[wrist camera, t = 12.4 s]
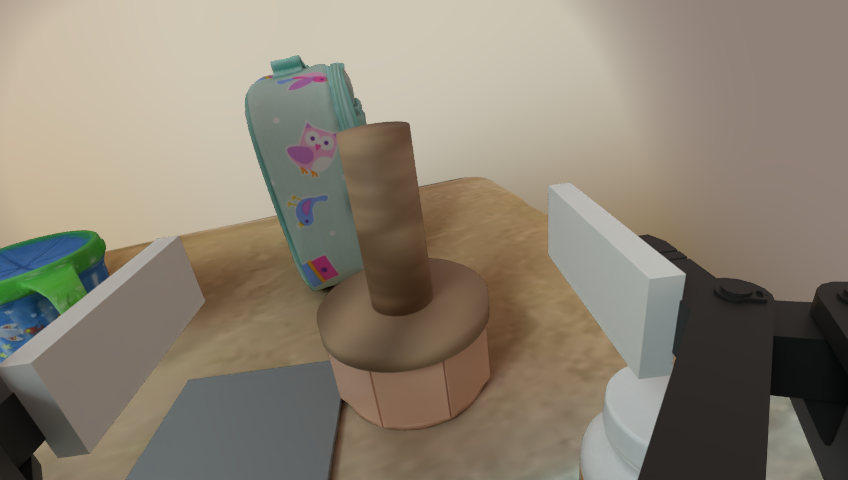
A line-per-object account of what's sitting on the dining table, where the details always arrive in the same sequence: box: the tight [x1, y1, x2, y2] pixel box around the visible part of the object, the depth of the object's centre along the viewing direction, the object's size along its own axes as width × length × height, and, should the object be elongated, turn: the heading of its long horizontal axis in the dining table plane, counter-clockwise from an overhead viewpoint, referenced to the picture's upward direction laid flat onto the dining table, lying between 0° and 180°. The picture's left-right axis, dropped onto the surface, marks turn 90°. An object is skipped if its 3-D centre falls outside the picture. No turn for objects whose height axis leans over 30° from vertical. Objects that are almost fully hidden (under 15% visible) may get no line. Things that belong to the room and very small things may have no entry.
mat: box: [125, 361, 343, 480], centre depth 26 cm, size 12×12×1 cm
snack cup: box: [0, 230, 109, 363], centre depth 34 cm, size 16×10×10 cm
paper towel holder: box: [317, 122, 489, 373], centre depth 25 cm, size 11×11×12 cm
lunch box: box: [245, 55, 367, 291], centre depth 46 cm, size 27×10×21 cm, turn 12°
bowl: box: [328, 327, 490, 430], centre depth 29 cm, size 10×10×5 cm
